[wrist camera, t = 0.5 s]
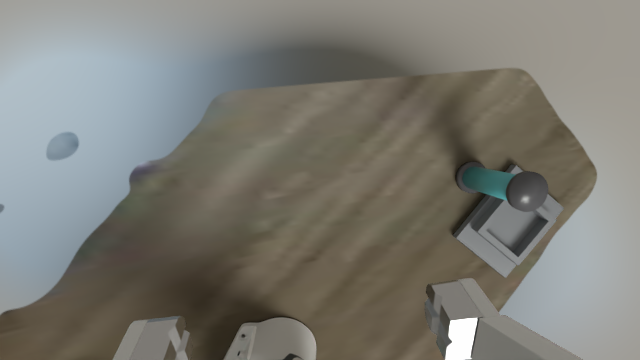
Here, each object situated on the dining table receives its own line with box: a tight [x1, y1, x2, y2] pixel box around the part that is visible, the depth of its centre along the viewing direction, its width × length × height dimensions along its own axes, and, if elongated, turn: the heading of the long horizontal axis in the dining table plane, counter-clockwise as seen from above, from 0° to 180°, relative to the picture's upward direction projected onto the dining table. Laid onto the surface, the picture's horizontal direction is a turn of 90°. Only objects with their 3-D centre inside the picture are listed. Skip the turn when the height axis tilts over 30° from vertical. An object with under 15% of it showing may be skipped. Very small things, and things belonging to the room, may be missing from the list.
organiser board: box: [453, 165, 564, 278], centre depth 66 cm, size 18×14×4 cm
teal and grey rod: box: [456, 162, 548, 212], centre depth 58 cm, size 6×6×16 cm
